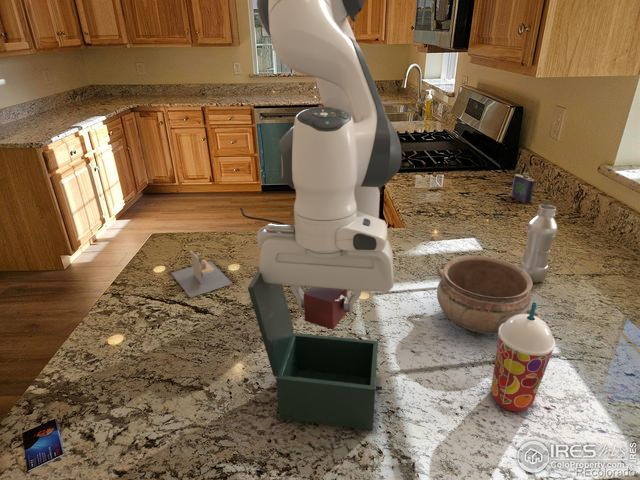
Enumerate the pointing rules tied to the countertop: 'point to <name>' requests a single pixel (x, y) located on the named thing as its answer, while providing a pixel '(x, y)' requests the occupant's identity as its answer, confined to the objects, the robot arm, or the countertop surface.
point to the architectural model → (200, 277)
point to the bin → (328, 381)
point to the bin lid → (272, 319)
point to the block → (324, 306)
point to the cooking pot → (483, 292)
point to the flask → (522, 188)
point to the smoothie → (521, 360)
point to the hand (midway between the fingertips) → (326, 308)
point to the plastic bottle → (539, 243)
